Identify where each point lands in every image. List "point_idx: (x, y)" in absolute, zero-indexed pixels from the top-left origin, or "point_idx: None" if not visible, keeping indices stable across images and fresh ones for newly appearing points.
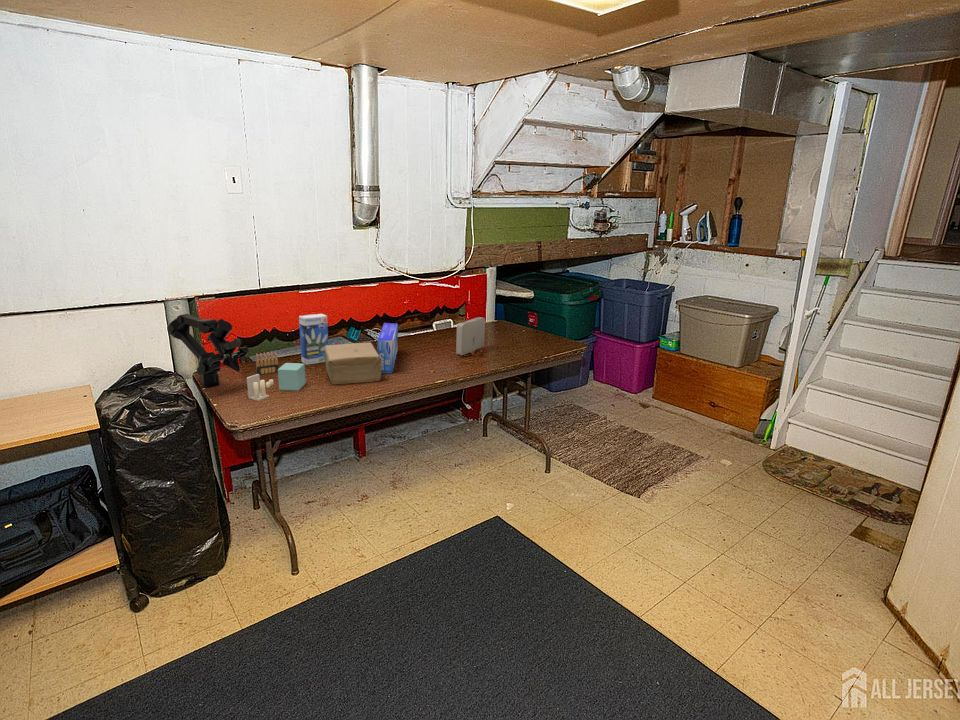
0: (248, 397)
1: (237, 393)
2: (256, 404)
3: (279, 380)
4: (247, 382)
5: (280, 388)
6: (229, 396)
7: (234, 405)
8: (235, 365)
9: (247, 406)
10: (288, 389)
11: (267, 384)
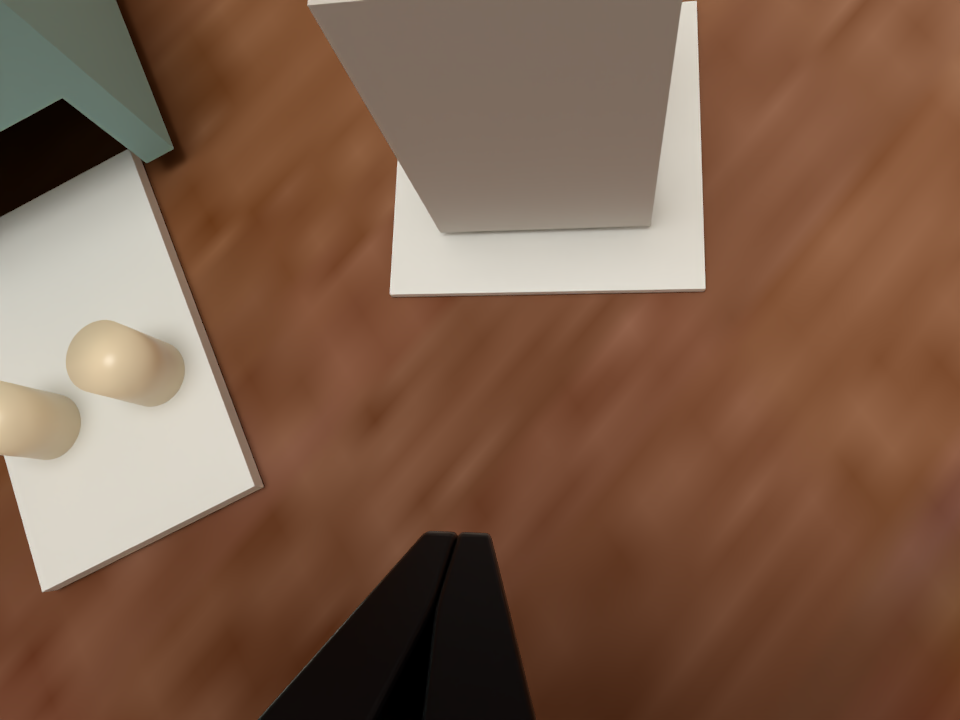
0: (651, 217)
1: (551, 620)
2: (701, 16)
3: (68, 50)
4: (674, 44)
5: (155, 123)
6: (725, 620)
7: (933, 219)
8: (469, 706)
9: (832, 46)
10: (127, 37)
11: (144, 341)
